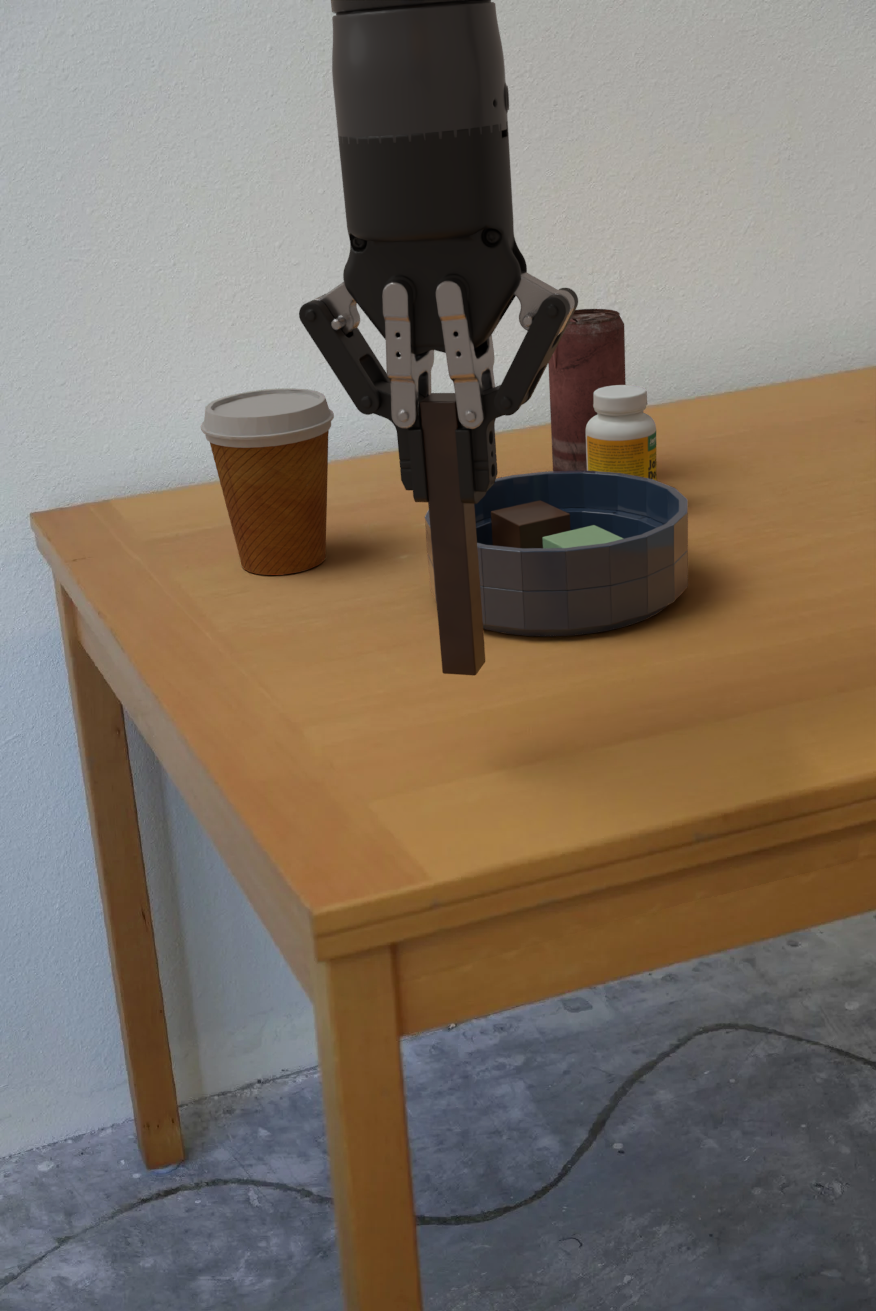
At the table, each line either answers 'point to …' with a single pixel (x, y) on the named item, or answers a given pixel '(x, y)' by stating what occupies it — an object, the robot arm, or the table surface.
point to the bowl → (582, 555)
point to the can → (582, 380)
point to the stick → (452, 541)
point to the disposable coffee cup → (273, 475)
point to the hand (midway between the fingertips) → (451, 497)
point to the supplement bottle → (621, 433)
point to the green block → (579, 538)
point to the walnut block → (527, 524)
